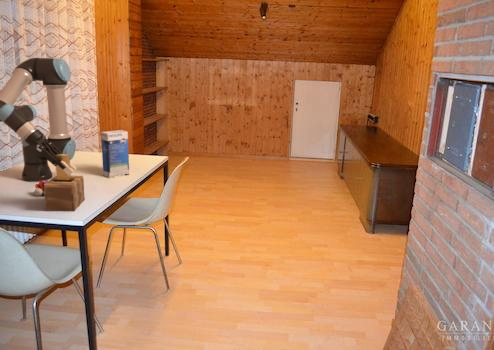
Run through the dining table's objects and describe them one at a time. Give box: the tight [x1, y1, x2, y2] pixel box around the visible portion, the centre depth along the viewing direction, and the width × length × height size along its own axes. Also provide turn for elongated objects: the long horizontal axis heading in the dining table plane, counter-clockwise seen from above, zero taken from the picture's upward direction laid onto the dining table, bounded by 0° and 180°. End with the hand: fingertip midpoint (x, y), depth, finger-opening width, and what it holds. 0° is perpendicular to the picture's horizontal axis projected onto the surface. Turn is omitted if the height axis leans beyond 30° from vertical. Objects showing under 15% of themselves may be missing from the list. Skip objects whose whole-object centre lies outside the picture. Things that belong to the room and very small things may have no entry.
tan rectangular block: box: [55, 154, 72, 180], centre depth 188 cm, size 4×5×11 cm
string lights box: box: [100, 129, 130, 179], centre depth 244 cm, size 13×8×26 cm, turn 137°
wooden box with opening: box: [43, 174, 85, 212], centre depth 191 cm, size 16×12×12 cm
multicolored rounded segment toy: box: [33, 179, 49, 197], centre depth 207 cm, size 8×10×7 cm
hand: (72, 172), depth 189 cm, fingers closed on tan rectangular block, 3 cm apart
